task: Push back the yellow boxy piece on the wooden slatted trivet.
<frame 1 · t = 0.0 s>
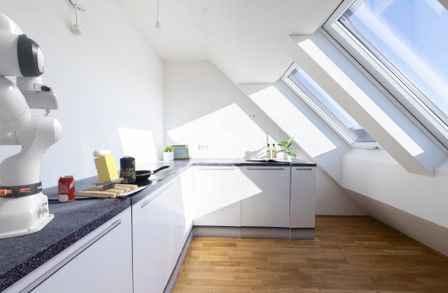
hand: (31, 119, 104), 39 cm above the countertop, tool pointing down, fingers open, 8 cm apart
wooden slatted trivet: (109, 191, 132), on the countertop
yellow boxy piece: (105, 166, 132), point 14 cm above the countertop, hinge at -15.0°
soda can: (67, 201, 113), on the countertop
canister: (128, 183, 158), on the countertop
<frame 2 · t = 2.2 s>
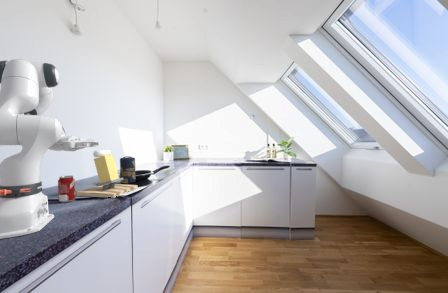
hand: (92, 144, 133), 27 cm above the countertop, tool horizontal, fingers open, 8 cm apart
nothing on the countertop moved.
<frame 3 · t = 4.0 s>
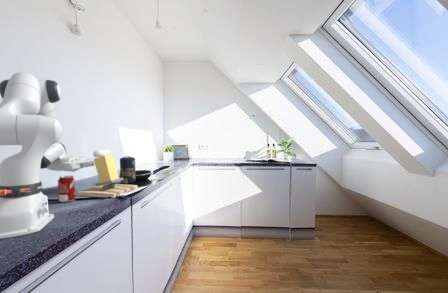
hand: (92, 164, 134), 15 cm above the countertop, tool horizontal, fingers closed
nothing on the countertop moved.
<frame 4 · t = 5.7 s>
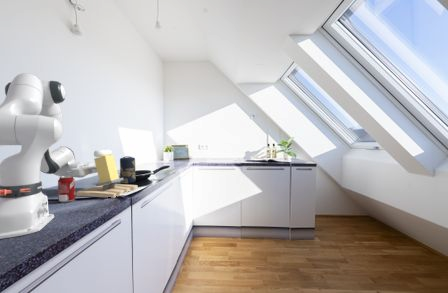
hand: (101, 170, 133), 12 cm above the countertop, tool horizontal, fingers closed, pressing on yellow boxy piece
yellow boxy piece: (106, 166, 132), point 14 cm above the countertop, hinge at -14.1°, touching gripper
everything else where it was.
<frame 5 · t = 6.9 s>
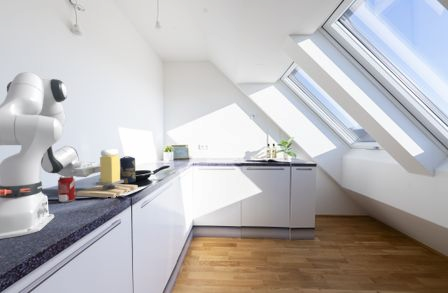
hand: (104, 169, 132), 12 cm above the countertop, tool horizontal, fingers closed, pressing on yellow boxy piece
yellow boxy piece: (109, 166, 132), point 14 cm above the countertop, hinge at 0.0°, touching gripper
everything else where it was.
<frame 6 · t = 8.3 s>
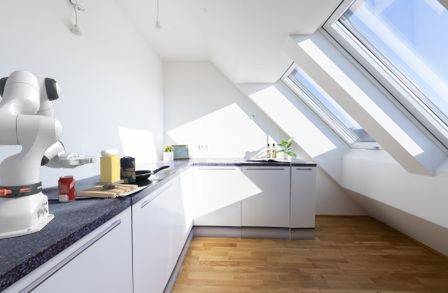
hand: (91, 161, 133), 17 cm above the countertop, tool horizontal, fingers closed
yellow boxy piece: (109, 166, 132), point 14 cm above the countertop, hinge at 0.0°
everything else where it was.
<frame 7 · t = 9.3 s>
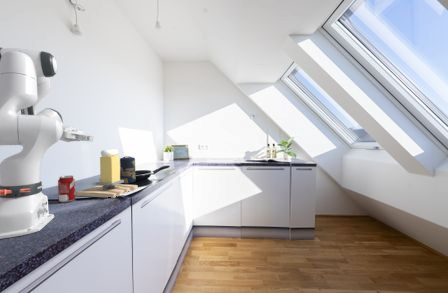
hand: (87, 138, 130), 30 cm above the countertop, tool horizontal, fingers closed
nothing on the countertop moved.
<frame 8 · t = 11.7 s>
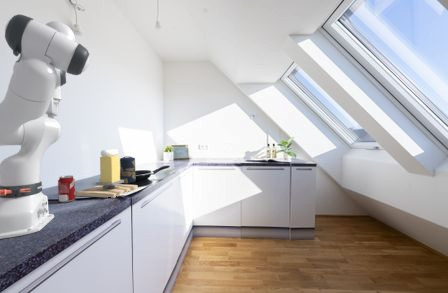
hand: (51, 124, 115), 37 cm above the countertop, tool pointing down, fingers closed
nothing on the countertop moved.
at the end: yellow boxy piece at +0° (first picture: -15°); soda can moved 0.2 cm from its start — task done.
